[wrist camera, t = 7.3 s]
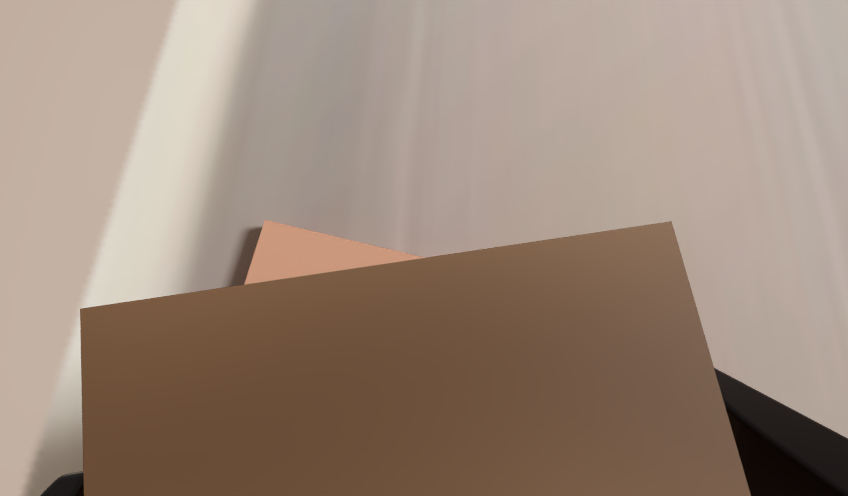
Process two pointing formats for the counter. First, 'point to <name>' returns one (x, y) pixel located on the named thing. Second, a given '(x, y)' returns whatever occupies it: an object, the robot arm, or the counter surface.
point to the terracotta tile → (311, 254)
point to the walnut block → (417, 380)
